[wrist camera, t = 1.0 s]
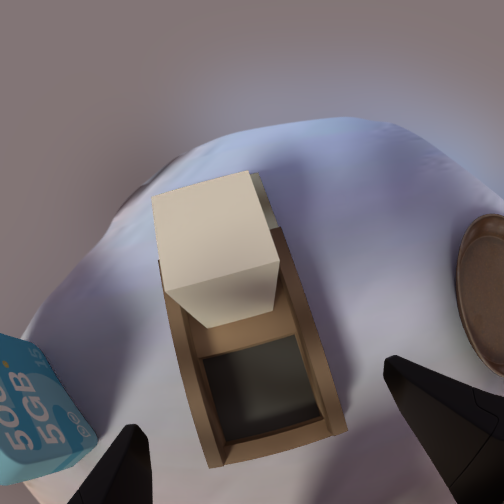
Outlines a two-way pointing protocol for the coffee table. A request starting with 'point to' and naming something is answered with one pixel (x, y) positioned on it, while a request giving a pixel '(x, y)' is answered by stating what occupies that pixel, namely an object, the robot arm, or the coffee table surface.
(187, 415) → the coffee table surface
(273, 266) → the cream block
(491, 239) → the plant saucer
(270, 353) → the walnut channel
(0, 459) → the data package
